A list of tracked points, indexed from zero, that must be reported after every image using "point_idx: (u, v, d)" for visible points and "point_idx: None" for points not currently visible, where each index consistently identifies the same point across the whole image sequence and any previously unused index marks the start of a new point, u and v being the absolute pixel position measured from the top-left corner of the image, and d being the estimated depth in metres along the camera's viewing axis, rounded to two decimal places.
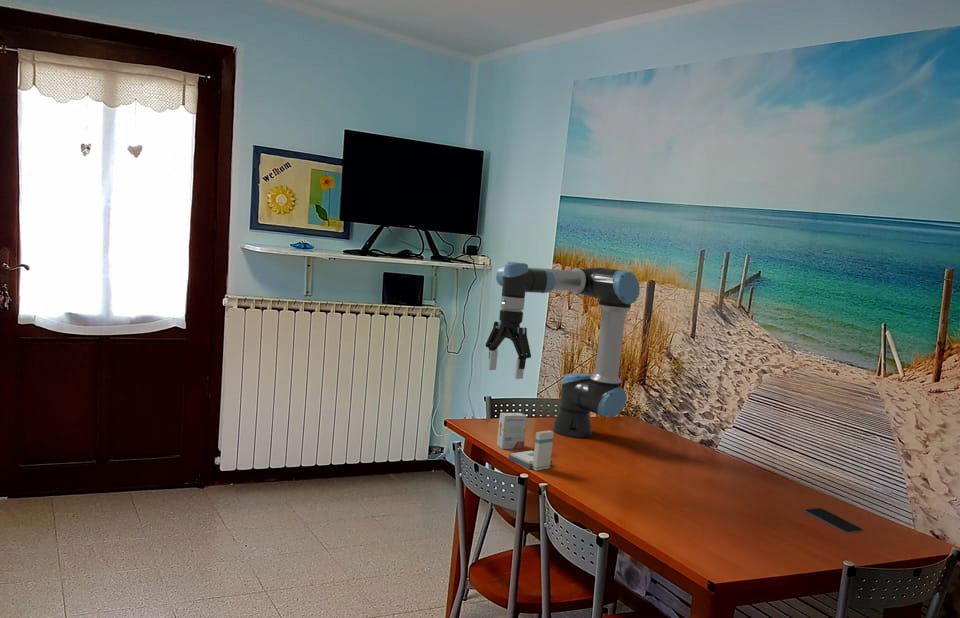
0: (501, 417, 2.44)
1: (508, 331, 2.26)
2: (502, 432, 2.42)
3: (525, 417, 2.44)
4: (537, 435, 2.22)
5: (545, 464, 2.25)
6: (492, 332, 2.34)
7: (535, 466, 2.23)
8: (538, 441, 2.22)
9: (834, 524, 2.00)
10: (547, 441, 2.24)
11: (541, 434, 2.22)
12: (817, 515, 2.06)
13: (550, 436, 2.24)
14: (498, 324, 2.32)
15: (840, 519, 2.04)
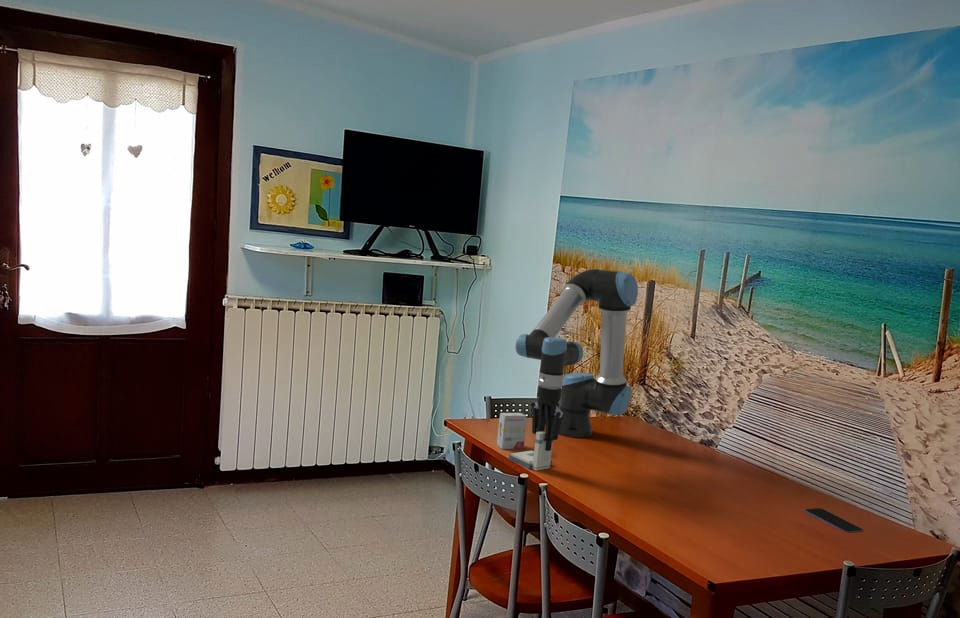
0: (501, 417, 2.44)
1: (546, 409, 2.21)
2: (502, 432, 2.42)
3: (525, 417, 2.44)
4: (537, 435, 2.22)
5: (545, 464, 2.25)
6: (533, 415, 2.26)
7: (535, 466, 2.23)
8: (538, 441, 2.22)
9: (834, 524, 2.00)
10: None
11: (541, 434, 2.22)
12: (817, 515, 2.06)
13: None
14: (535, 404, 2.27)
15: (840, 519, 2.05)
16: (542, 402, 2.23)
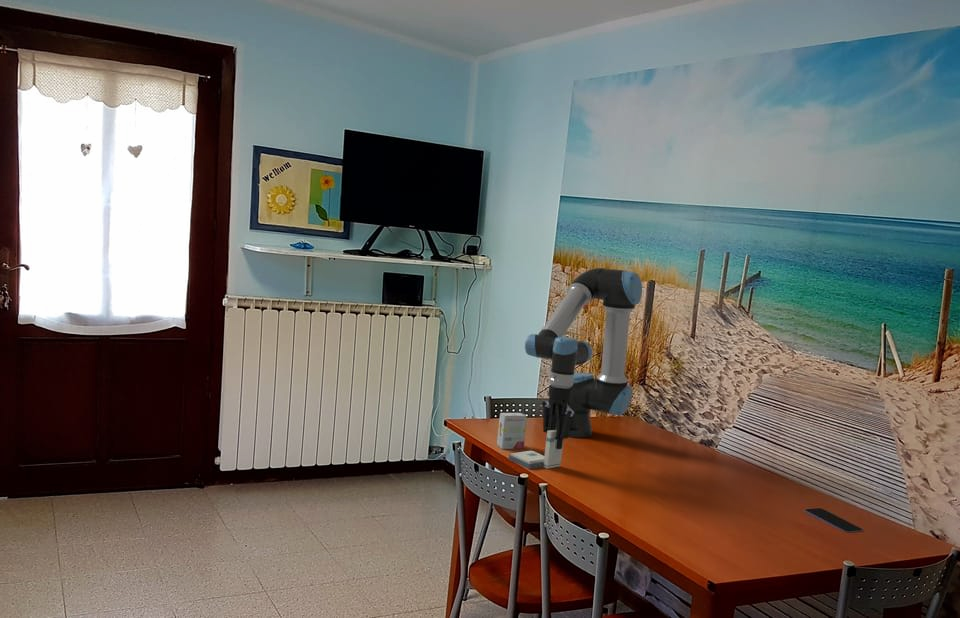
0: (501, 417, 2.44)
1: (557, 408, 2.24)
2: (502, 432, 2.42)
3: (525, 417, 2.44)
4: (548, 434, 2.25)
5: (556, 462, 2.28)
6: (544, 413, 2.29)
7: (546, 464, 2.26)
8: (549, 439, 2.25)
9: (834, 524, 2.00)
10: None
11: (552, 433, 2.25)
12: (817, 515, 2.06)
13: None
14: (546, 403, 2.30)
15: (840, 519, 2.05)
16: (553, 401, 2.26)
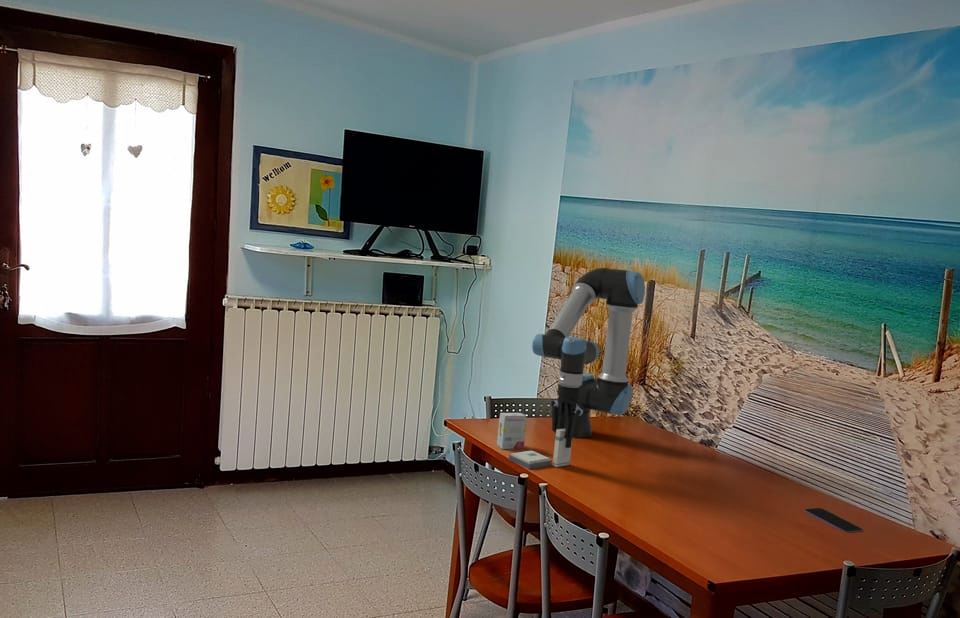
0: (501, 417, 2.44)
1: (566, 407, 2.26)
2: (502, 432, 2.42)
3: (525, 417, 2.44)
4: (557, 432, 2.28)
5: (565, 461, 2.30)
6: (553, 412, 2.32)
7: (555, 463, 2.28)
8: (558, 438, 2.27)
9: (834, 524, 2.00)
10: None
11: (561, 431, 2.27)
12: (817, 515, 2.06)
13: None
14: (555, 402, 2.32)
15: (840, 519, 2.05)
16: (562, 400, 2.29)
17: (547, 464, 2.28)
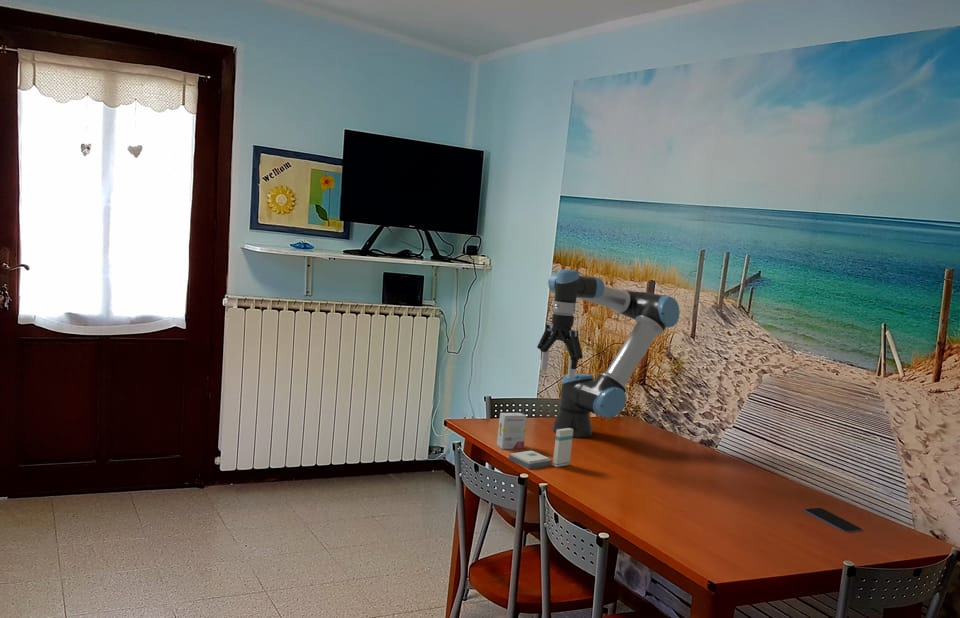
0: (501, 417, 2.44)
1: (560, 334, 2.43)
2: (502, 432, 2.42)
3: (525, 417, 2.44)
4: (557, 432, 2.28)
5: (565, 461, 2.30)
6: (544, 335, 2.50)
7: (555, 463, 2.28)
8: (558, 438, 2.27)
9: (833, 523, 2.01)
10: (567, 438, 2.29)
11: (561, 431, 2.27)
12: (816, 514, 2.06)
13: (570, 433, 2.30)
14: (550, 327, 2.49)
15: (839, 519, 2.05)
16: None
17: (547, 464, 2.28)
